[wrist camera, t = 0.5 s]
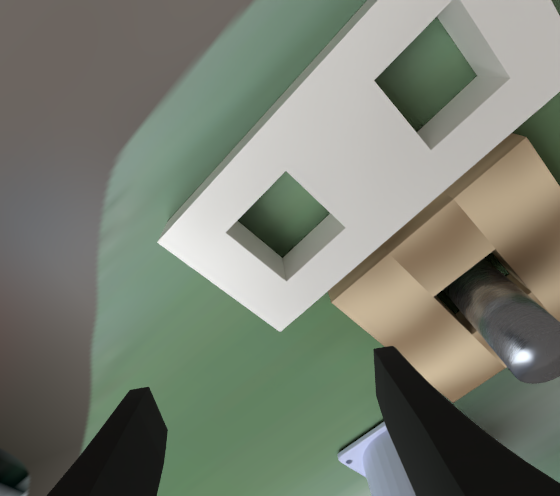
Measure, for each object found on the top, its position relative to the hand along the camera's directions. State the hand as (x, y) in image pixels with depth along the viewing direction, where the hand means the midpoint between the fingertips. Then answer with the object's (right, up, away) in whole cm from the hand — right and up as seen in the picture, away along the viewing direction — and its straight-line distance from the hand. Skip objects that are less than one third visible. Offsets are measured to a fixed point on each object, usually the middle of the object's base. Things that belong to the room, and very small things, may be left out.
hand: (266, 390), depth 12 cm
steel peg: (+12, +3, +11) cm, 16 cm away
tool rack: (+4, +9, +7) cm, 12 cm away
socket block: (+12, +3, +11) cm, 16 cm away
